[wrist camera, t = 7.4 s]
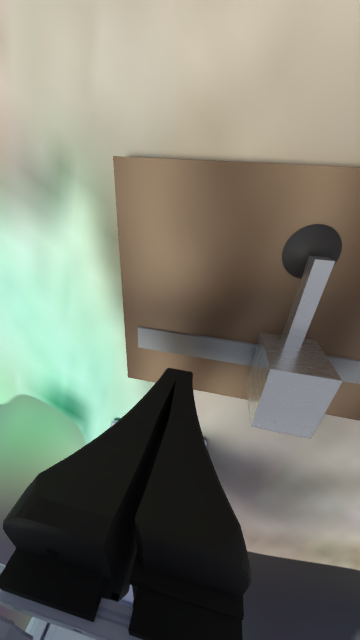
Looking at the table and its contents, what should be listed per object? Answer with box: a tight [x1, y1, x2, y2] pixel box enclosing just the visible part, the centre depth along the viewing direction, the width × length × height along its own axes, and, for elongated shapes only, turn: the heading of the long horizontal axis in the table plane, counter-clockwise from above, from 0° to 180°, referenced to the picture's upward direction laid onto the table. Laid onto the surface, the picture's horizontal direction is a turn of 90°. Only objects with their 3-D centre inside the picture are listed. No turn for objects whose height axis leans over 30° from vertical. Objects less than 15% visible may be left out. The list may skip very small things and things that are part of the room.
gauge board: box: [113, 156, 360, 420], centre depth 11 cm, size 24×14×6 cm, turn 87°
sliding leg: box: [246, 256, 343, 438], centre depth 11 cm, size 3×8×3 cm, turn 177°
